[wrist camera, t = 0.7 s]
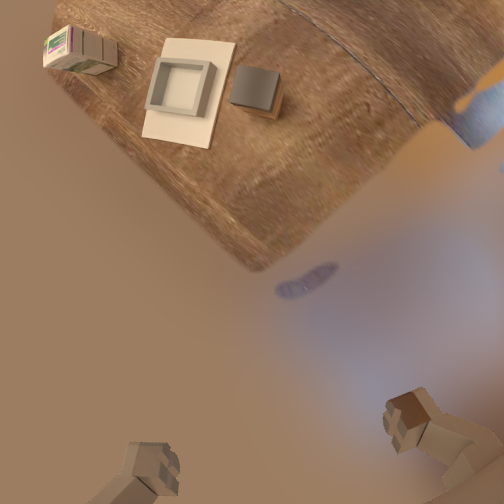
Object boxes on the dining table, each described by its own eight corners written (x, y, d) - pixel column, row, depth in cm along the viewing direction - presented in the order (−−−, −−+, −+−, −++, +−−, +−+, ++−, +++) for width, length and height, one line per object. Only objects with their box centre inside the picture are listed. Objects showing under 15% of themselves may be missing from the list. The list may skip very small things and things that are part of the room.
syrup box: (118, 41, 38) (69, 21, 25) (118, 68, 40) (67, 53, 27) (94, 51, 39) (43, 37, 26) (94, 77, 41) (41, 68, 28)
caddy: (144, 136, 45) (129, 137, 40) (168, 39, 38) (156, 31, 33) (209, 148, 44) (199, 149, 40) (236, 45, 37) (229, 34, 33)
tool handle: (248, 114, 41) (228, 101, 28) (255, 87, 40) (238, 64, 27) (277, 120, 41) (269, 110, 28) (284, 93, 40) (279, 72, 27)
